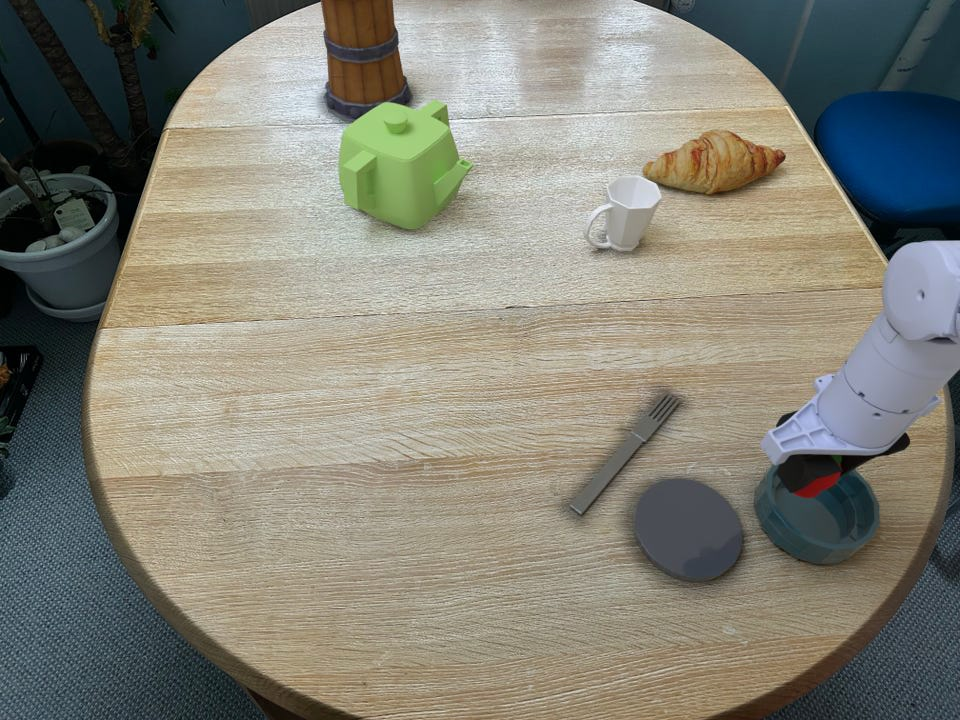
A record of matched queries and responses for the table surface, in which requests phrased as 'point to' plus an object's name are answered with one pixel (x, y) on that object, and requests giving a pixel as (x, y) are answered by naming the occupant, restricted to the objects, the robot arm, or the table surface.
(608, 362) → the table surface
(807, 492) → the strawberry
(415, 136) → the teapot
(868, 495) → the bowl
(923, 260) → the robot arm
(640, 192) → the cup
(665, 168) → the croissant
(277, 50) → the table surface
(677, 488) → the plate
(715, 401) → the table surface
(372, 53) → the mug
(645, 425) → the fork
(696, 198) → the table surface
